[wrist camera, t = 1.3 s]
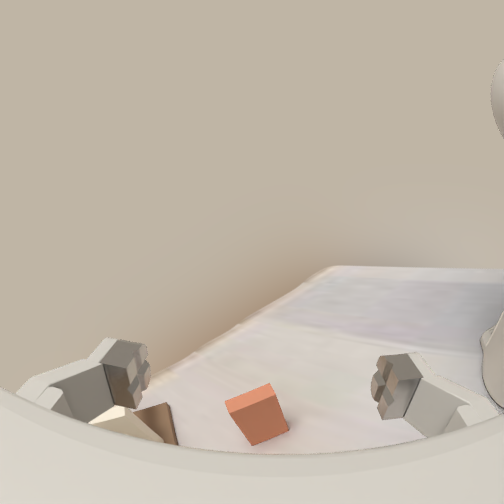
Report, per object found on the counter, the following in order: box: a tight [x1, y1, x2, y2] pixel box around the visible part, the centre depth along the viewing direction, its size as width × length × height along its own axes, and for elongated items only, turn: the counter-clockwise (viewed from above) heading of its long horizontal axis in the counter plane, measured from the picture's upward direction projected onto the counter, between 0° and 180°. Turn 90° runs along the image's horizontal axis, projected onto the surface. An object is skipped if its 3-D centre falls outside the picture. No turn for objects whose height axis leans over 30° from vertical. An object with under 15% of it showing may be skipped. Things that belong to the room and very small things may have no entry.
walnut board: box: [133, 402, 178, 445], centre depth 27 cm, size 8×26×1 cm, turn 20°
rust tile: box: [225, 383, 289, 446], centre depth 30 cm, size 2×5×10 cm, turn 109°
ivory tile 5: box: [90, 406, 164, 443], centre depth 29 cm, size 2×5×10 cm, turn 109°
